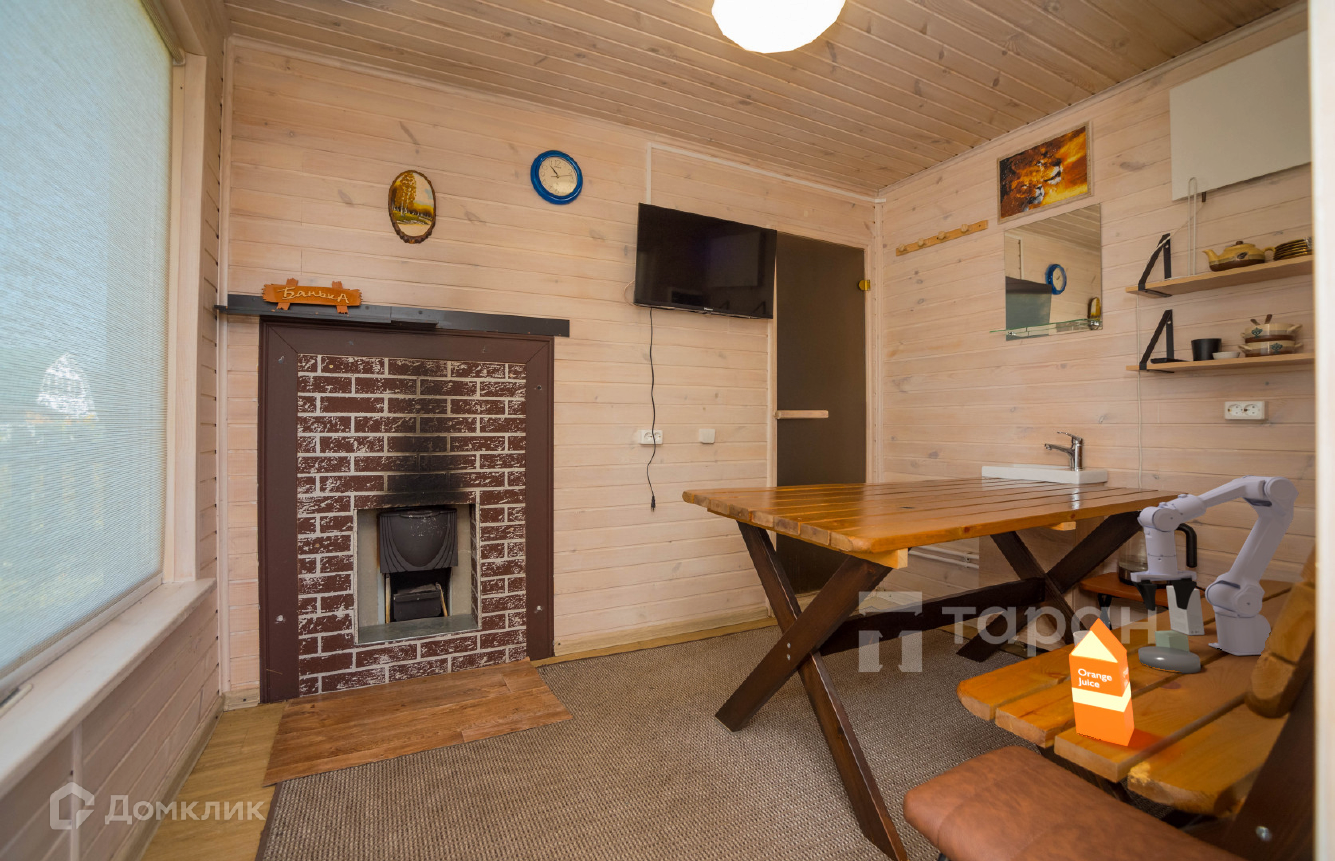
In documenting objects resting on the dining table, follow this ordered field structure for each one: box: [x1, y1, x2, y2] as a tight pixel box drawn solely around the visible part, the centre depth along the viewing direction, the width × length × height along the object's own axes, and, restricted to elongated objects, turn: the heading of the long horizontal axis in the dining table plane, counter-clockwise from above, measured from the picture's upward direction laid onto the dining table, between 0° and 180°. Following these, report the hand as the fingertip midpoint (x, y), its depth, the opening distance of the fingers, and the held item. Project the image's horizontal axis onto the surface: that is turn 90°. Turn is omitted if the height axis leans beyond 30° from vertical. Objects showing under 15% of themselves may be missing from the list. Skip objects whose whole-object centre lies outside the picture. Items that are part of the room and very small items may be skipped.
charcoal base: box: [1138, 645, 1202, 674], centre depth 137 cm, size 11×11×2 cm
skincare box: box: [1166, 585, 1205, 636], centre depth 158 cm, size 6×4×12 cm
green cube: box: [1154, 629, 1190, 652], centre depth 145 cm, size 4×4×4 cm
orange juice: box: [1068, 617, 1135, 747], centre depth 109 cm, size 8×9×20 cm
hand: (1166, 609), depth 146 cm, fingers open, 7 cm apart
